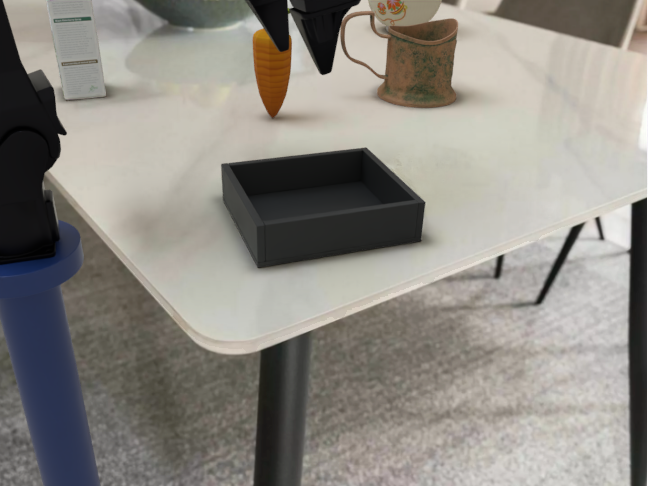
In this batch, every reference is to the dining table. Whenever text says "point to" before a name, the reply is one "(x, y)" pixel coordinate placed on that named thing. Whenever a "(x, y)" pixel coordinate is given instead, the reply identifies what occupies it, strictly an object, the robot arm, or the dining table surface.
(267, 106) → the carrot
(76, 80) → the syrup box
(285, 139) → the dining table surface
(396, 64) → the mug
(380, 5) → the bowl
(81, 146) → the dining table surface
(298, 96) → the dining table surface
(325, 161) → the tray
